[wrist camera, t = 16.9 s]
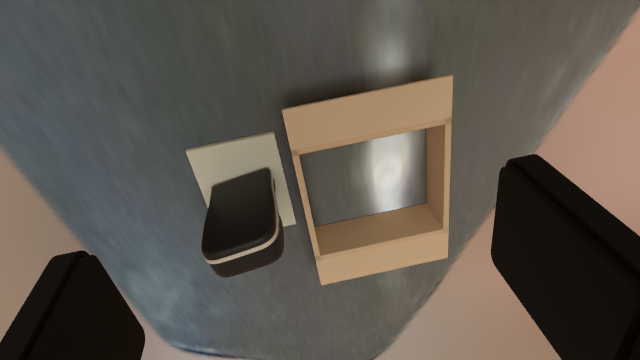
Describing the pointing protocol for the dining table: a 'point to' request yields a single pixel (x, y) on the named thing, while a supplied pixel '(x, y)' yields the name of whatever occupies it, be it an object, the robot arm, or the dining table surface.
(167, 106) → the dining table surface
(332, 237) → the carton
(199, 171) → the mat
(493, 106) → the dining table surface
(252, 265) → the battery charger
